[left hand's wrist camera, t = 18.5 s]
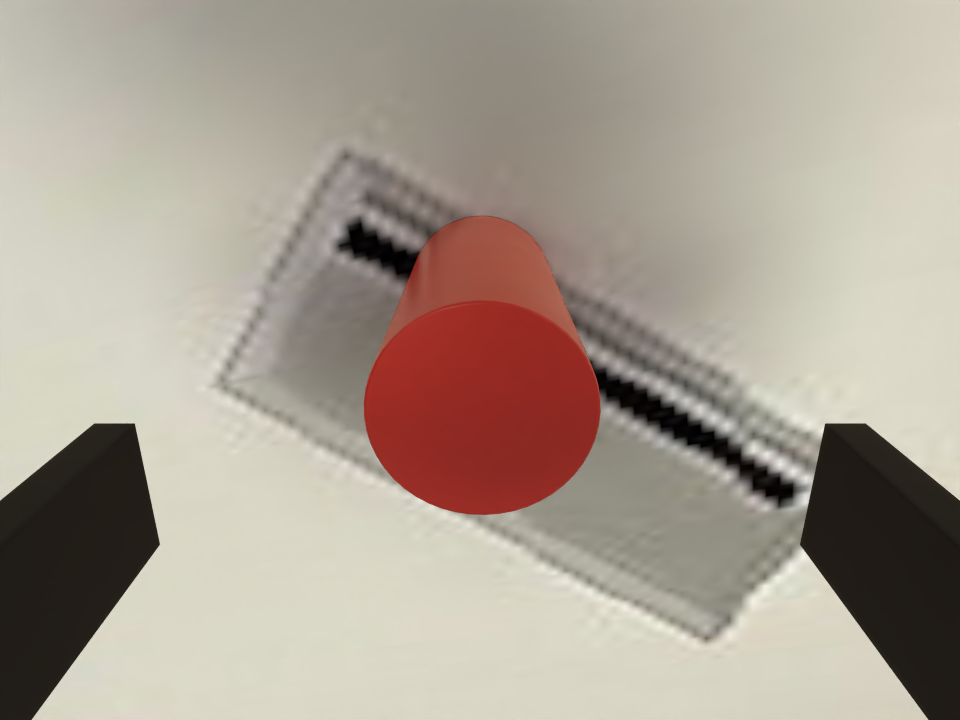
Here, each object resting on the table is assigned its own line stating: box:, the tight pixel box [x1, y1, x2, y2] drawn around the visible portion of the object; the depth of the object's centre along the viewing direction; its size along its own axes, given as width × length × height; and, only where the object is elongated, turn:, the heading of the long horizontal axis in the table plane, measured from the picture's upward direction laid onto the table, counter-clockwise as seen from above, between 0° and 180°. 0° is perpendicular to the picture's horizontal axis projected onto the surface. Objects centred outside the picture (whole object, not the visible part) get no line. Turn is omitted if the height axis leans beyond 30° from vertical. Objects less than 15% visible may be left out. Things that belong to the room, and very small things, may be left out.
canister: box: [364, 216, 601, 515], centre depth 21 cm, size 6×6×12 cm
